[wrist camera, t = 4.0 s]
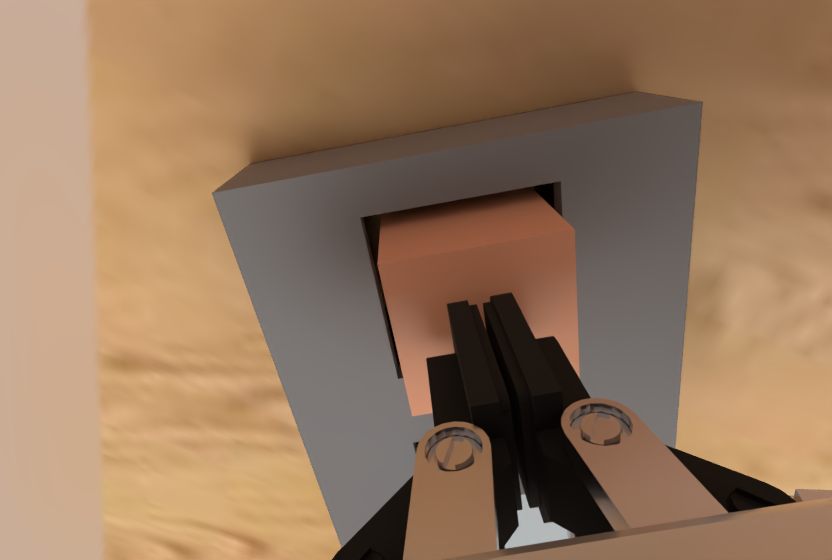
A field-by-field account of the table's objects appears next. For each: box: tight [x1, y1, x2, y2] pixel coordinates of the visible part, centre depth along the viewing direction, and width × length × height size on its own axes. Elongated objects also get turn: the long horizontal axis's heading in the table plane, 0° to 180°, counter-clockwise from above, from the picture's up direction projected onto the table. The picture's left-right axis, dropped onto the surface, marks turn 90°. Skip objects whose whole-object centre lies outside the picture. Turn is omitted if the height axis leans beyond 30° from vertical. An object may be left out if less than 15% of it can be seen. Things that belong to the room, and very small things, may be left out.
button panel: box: [212, 92, 703, 547], centre depth 21 cm, size 14×27×4 cm, turn 10°
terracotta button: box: [377, 187, 580, 416], centre depth 15 cm, size 5×5×4 cm
